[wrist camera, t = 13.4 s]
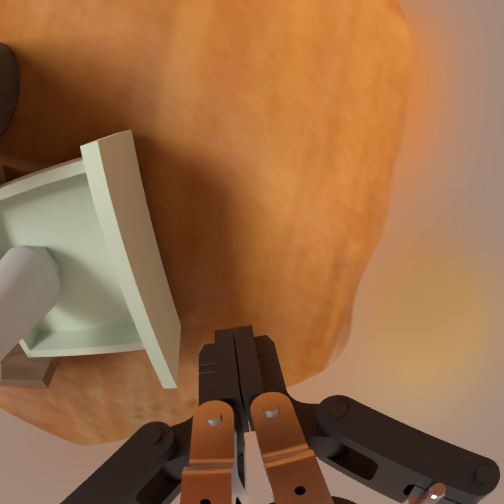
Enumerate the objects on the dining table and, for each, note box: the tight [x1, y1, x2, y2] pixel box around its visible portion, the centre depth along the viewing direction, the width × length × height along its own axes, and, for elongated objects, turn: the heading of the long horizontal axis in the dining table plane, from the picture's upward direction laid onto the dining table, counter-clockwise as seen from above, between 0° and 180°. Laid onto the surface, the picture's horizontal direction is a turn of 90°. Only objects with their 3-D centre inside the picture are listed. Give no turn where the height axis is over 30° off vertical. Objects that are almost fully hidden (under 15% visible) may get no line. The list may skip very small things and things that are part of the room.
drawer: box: [0, 129, 181, 389], centre depth 20 cm, size 17×15×7 cm
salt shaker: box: [0, 245, 61, 380], centre depth 16 cm, size 6×6×13 cm
